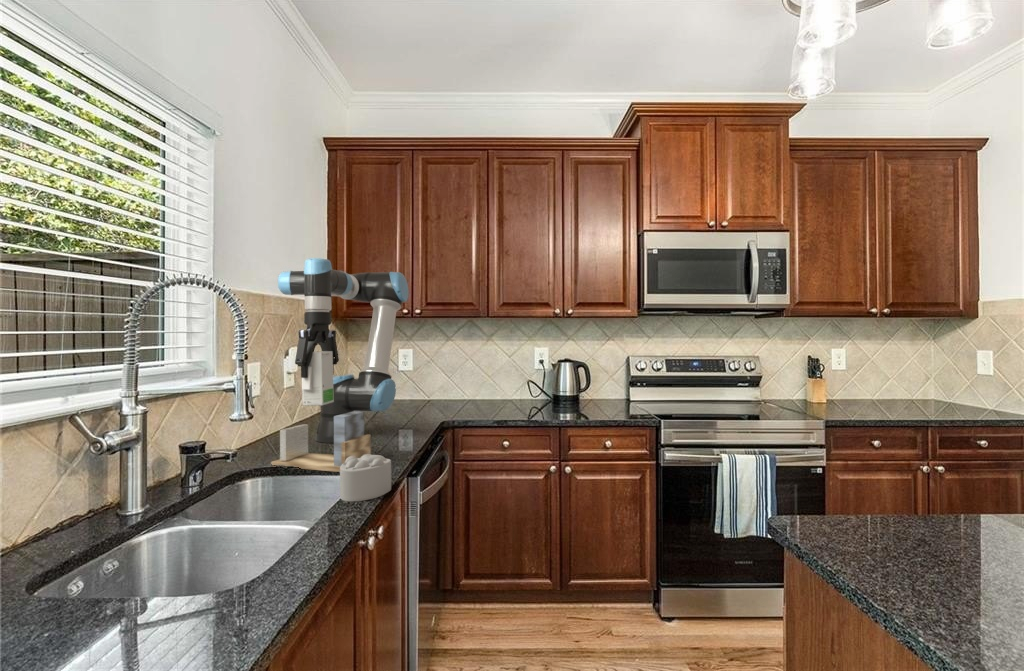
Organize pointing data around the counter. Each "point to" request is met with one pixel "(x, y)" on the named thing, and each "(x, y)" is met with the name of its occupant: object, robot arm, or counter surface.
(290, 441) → the grey rectangular slab
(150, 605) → the counter surface
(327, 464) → the book rack
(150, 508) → the counter surface
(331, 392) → the skincare box
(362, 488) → the lumpy-topped squat cylinder
